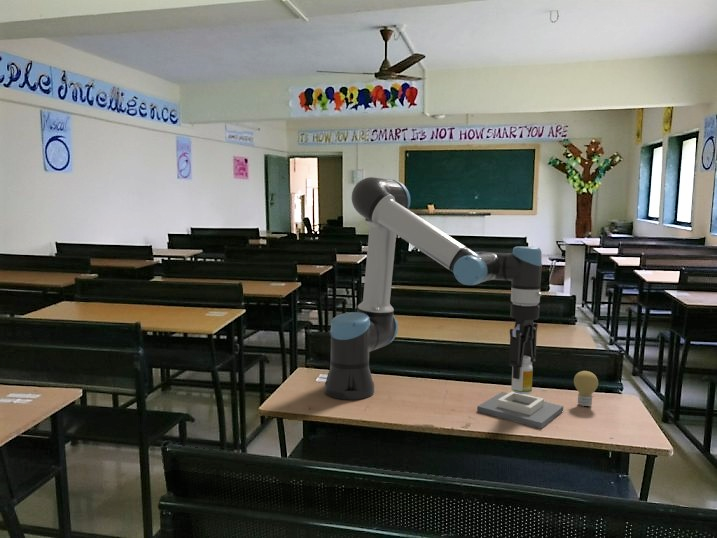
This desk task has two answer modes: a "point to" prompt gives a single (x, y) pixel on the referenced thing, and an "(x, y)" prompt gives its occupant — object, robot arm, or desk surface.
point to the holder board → (521, 409)
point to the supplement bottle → (526, 376)
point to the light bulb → (585, 387)
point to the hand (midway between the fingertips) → (521, 386)
